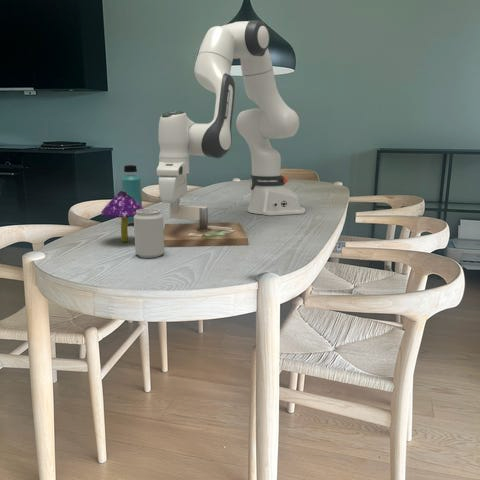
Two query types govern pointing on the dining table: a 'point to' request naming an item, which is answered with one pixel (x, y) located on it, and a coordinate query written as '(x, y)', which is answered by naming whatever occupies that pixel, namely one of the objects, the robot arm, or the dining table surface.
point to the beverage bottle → (132, 186)
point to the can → (149, 233)
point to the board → (203, 235)
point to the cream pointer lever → (195, 216)
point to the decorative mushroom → (122, 210)
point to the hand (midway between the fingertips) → (175, 213)
